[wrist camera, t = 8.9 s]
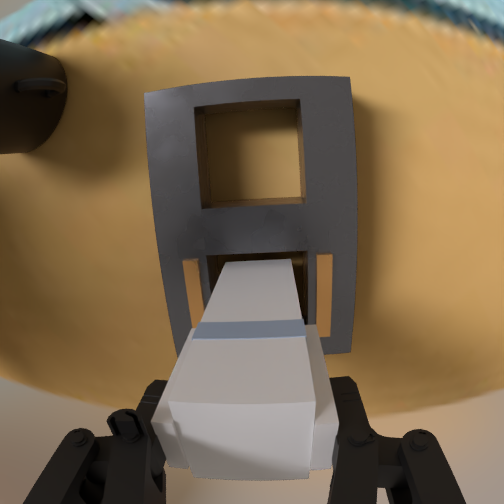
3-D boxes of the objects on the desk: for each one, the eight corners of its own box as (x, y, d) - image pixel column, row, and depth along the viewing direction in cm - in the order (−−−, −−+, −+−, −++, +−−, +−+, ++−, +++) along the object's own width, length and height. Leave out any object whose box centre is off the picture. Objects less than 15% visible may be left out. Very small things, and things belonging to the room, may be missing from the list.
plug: (230, 319, 24) (192, 477, 10) (225, 261, 22) (165, 399, 9) (292, 317, 23) (309, 479, 10) (291, 258, 22) (317, 399, 9)
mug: (86, 149, 22) (11, 151, 14) (-3, 155, 23) (-70, 163, 14) (101, 42, 20) (37, 7, 11) (8, 65, 20) (-55, 53, 11)
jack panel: (187, 334, 26) (176, 359, 23) (161, 101, 21) (142, 92, 17) (341, 329, 25) (351, 354, 22) (338, 88, 20) (350, 75, 17)
